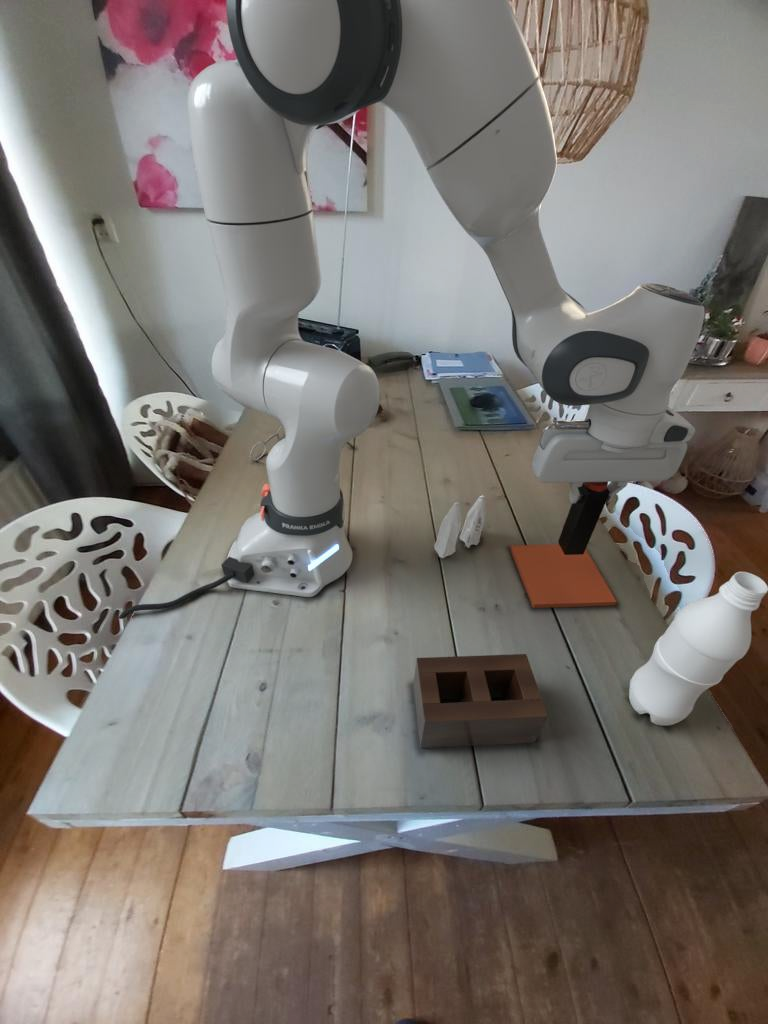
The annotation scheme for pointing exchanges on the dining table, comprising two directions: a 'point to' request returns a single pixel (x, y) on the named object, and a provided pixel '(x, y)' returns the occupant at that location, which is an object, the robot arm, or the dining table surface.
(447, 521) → the shaker set
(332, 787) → the dining table surface
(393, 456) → the dining table surface
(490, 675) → the holder
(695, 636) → the water bottle
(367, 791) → the dining table surface
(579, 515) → the red-capped black post
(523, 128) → the robot arm
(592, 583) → the mat
